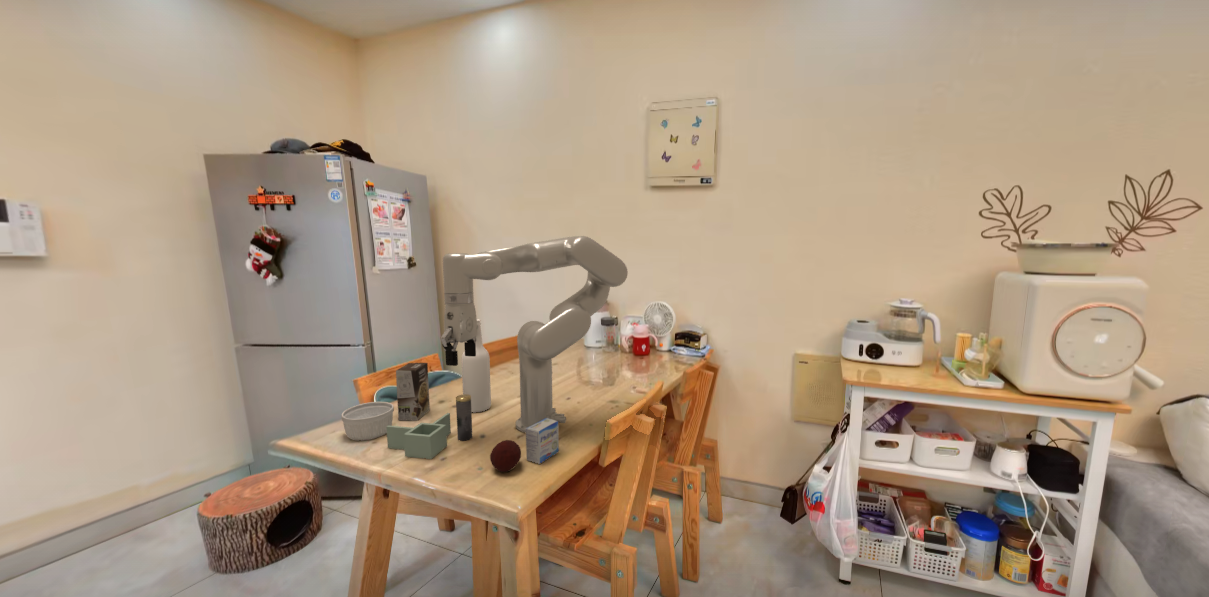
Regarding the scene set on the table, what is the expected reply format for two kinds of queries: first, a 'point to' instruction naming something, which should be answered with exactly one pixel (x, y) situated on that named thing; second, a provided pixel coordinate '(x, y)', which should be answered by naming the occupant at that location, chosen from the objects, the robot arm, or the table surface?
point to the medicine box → (542, 440)
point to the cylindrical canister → (464, 417)
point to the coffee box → (412, 391)
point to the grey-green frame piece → (420, 438)
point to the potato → (505, 455)
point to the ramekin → (367, 420)
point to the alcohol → (477, 376)
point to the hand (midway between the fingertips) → (461, 360)
